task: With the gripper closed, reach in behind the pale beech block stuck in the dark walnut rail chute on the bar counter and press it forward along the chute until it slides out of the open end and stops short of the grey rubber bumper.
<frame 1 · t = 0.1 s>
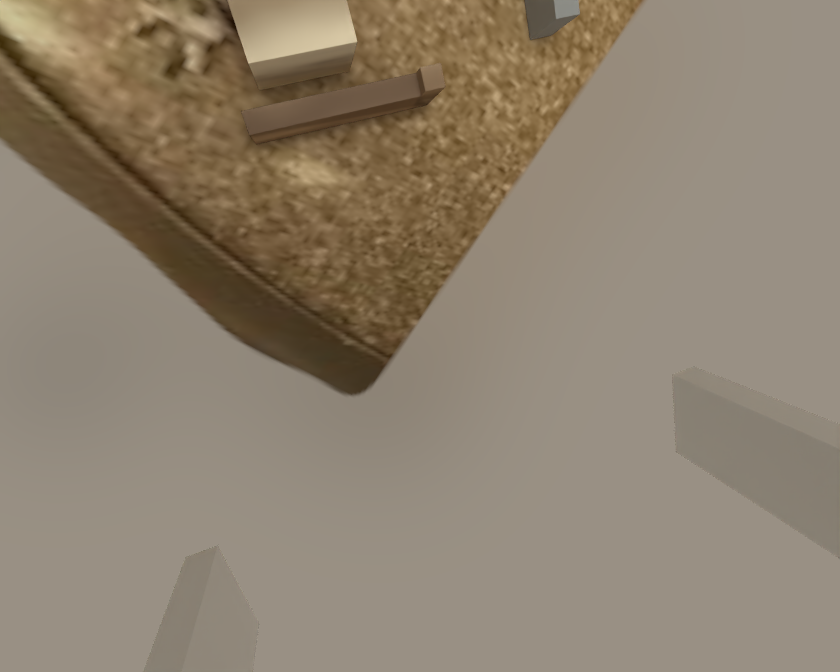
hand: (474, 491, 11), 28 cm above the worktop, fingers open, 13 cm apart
block: (289, 28, 31), on the worktop
chute: (316, 22, 31), on the worktop
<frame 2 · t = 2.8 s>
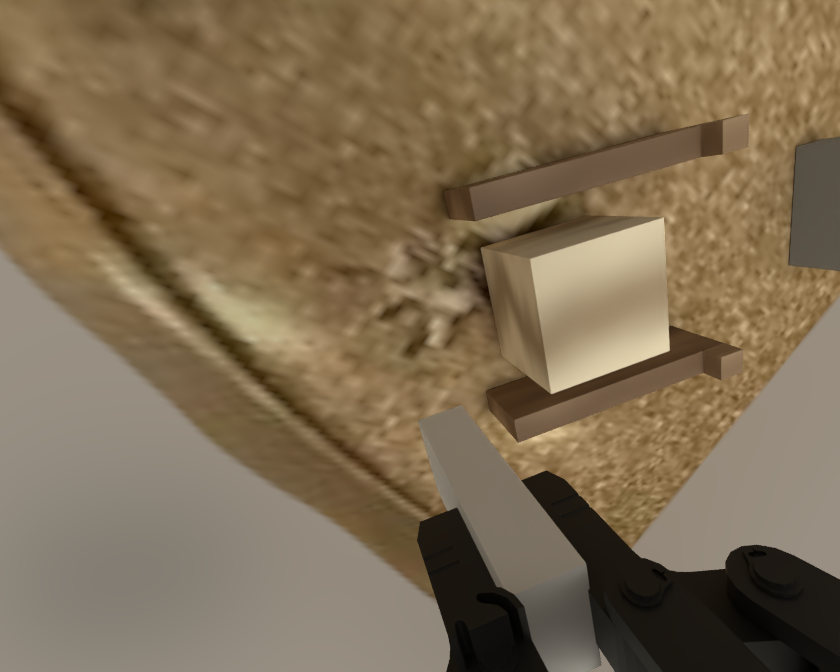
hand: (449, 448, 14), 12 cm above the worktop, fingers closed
bumper: (804, 204, 29), on the worktop
block: (542, 287, 26), on the worktop
chute: (572, 278, 26), on the worktop
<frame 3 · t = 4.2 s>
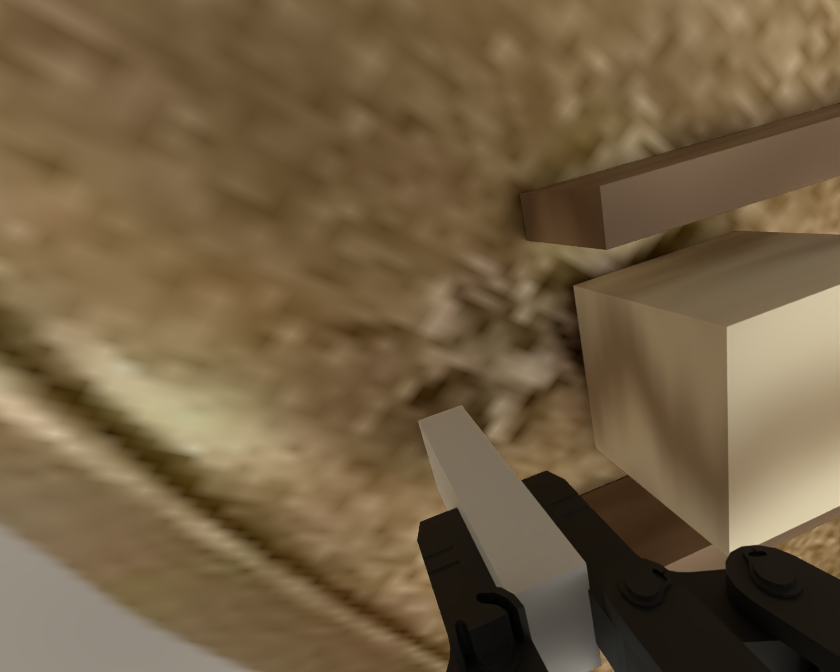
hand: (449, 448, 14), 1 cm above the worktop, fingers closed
block: (660, 342, 17), on the worktop
chute: (706, 328, 17), on the worktop
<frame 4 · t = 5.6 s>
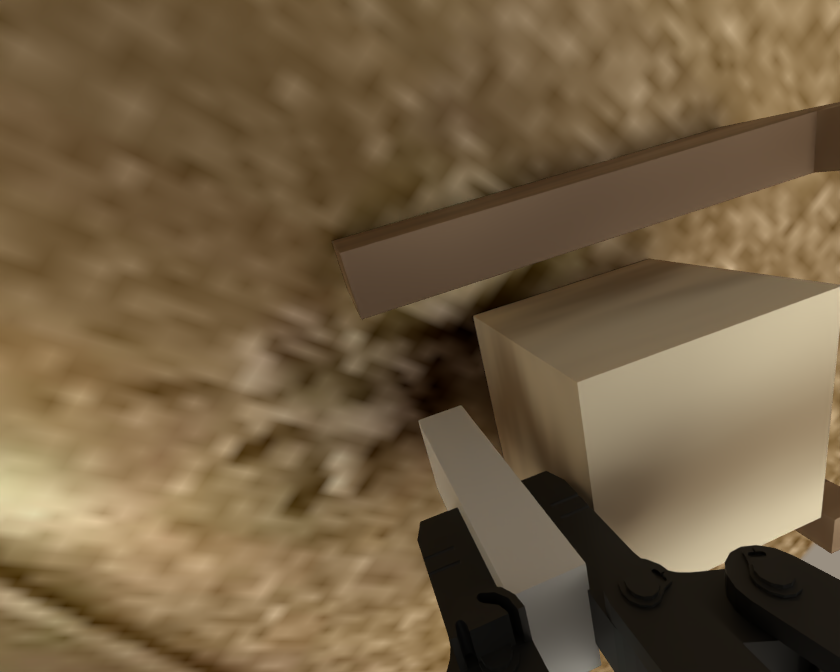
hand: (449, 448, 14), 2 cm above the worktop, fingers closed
block: (576, 373, 16), on the worktop, touching gripper
chute: (570, 370, 16), on the worktop
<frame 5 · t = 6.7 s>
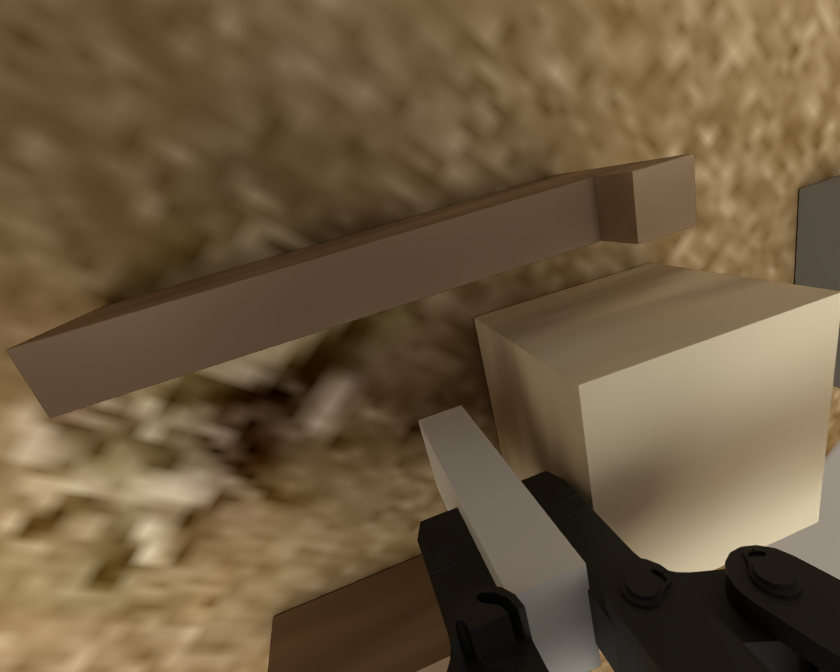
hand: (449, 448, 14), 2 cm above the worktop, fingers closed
bumper: (813, 280, 18), on the worktop
block: (575, 376, 16), on the worktop, touching gripper
chute: (410, 429, 15), on the worktop
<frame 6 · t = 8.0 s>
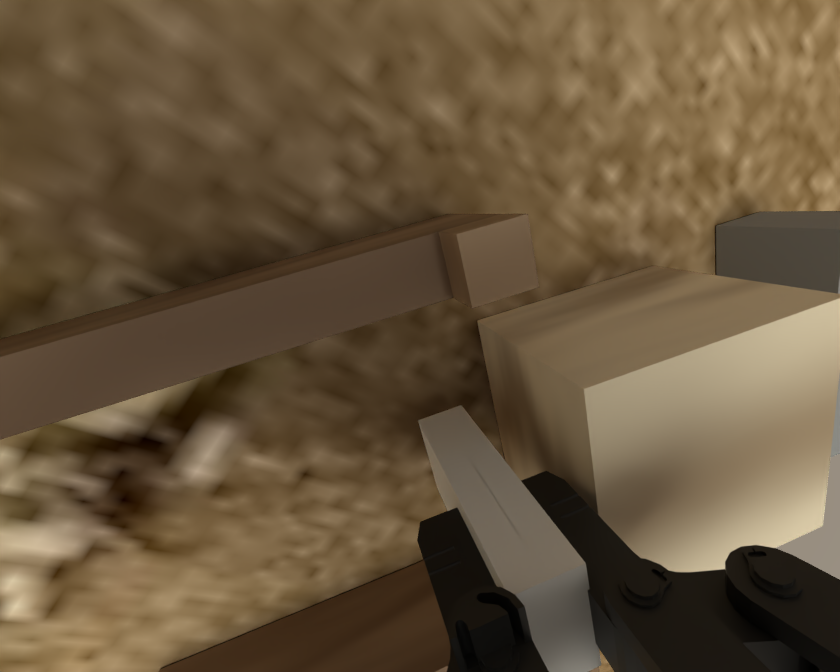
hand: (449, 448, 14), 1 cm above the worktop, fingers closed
bumper: (737, 317, 17), on the worktop
block: (578, 379, 16), on the worktop, touching gripper
chute: (301, 475, 14), on the worktop
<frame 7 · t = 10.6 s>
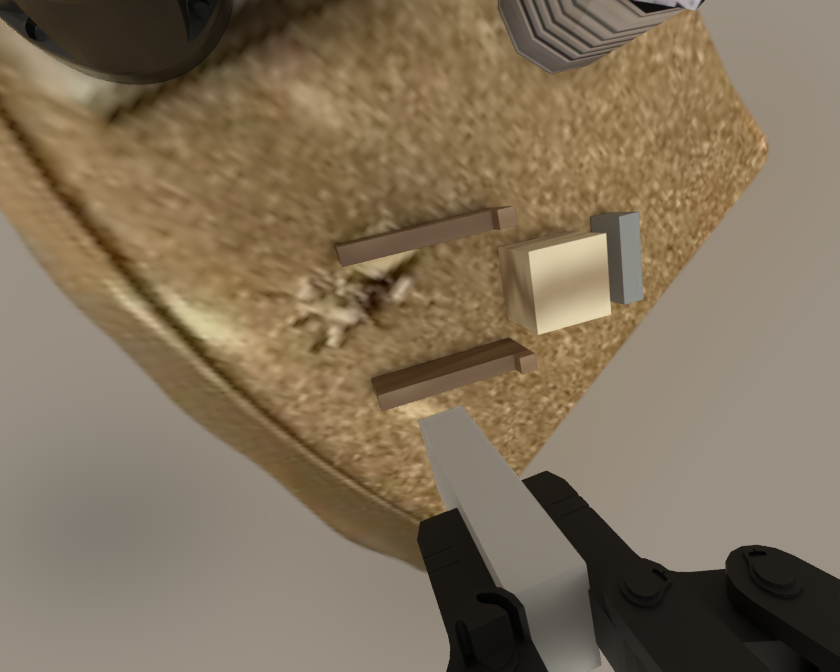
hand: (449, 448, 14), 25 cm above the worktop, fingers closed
bumper: (602, 256, 41), on the worktop
block: (535, 275, 40), on the worktop
chute: (430, 303, 38), on the worktop
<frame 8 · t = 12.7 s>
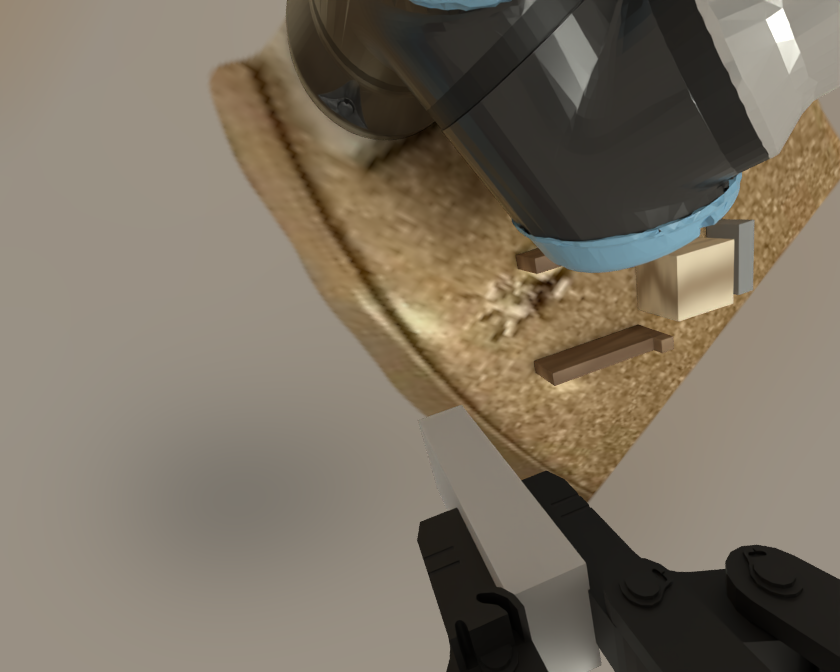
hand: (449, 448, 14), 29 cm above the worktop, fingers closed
bumper: (713, 255, 50), on the worktop
block: (661, 273, 49), on the worktop
chute: (582, 298, 47), on the worktop
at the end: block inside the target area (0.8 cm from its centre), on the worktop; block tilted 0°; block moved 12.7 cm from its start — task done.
